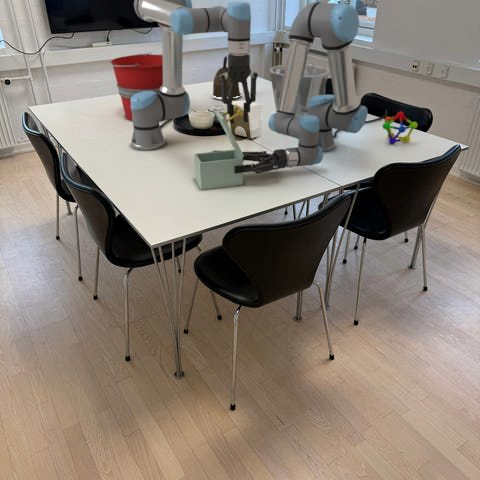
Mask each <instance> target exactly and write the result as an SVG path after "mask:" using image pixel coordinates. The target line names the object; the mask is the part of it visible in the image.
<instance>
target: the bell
mask: <svg viewBox="0 0 480 480" xmlns="http://www.w3.org/2000/svg"><path fill="white" fill-rule="evenodd" d="M227 65H228V56H224V58H223V63H222V67H221V68H219V69H218V70H217V71H216V73H215V75H214V78H213V81H212V83H213V84H212V95H214V96H216V97H222V87H221V78H220V74H224V73H226V72H227V69H228V66H227ZM230 82H231V79H230V77H229V76H227V80H226V83H227V97H228V93H229V89H230ZM240 95H241V96H242V93H241V92H240V83H237V84H236V87H235V91H234V96H233V97H236V96H240Z"/></svg>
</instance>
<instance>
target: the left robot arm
mask: <svg viewBox="0 0 480 480" xmlns="http://www.w3.org/2000/svg"><path fill="white" fill-rule="evenodd" d="M133 8H134V11H135V14H136V15H137V17H138V18H140V19H141V20H143V21H145V22H147V23H153V22H155V23H157V24H158V26H159V27H160V28H161V52H162V53H161V55H162V66H163V85H162V86H160V88H159V94H156V92H154V91H143V92H139V93H137V94H135V95H133V96H132V97H131V111H132V118H133V121H132V125H133V132H132V135H131V139H130V140H131V142H130V143H131V147H132V148H134V149H135V150H141V151H151V150H153V151H154V150H157V149H161V148H163V147H164V146H165V144H166V140H165V137H164V135H163V132H162V130H161V128H162V127H164V126H165V125H166V124H168V123H169V122H170V121H173V119H179V118H181V117H184V116H186V115H188V113H189V111H190V107H191V99H190V94H189V93H188V92H187V90H186V88H185V87H184V86H183V41H184V40H183V38H184V37H183V36H187V35H195V34H208V33H209V34H210V33H227V53H228V55H227V68H228V69H227V72H226V73H224V74H220V78H221V87H222V100H221V102H222V104H224V105H226V109H227V110H226V112H227V113H228V114H227V115H229V118H230V117H232V116H233V115H235V111H234V105H235V104H233V100H234V99H233V96H234V91H235V87H236V84H237V83H238V84H240V83H241V86H242V92H243V96H244V100H245V102H243V111H244V114H243V115H242V116H243V118H242V119H243V122H244V123H248V122H249V120H248V119H249V116H248V115H249V113H251V105H252V104H253V103H254V102H256V99H257V79H258V77H259V73H258V72H256V71H252V69H251V55H250V53H251V26H252V25H251V22H252V15H251V14H252V13H251V4H250V3H249V2H247V1H229V2H228V3H227V7H225V6H222V5H216V6H214V5H213V6H212V7H200V8H199V7H194V8H193V3H192V0H134V1H133ZM227 76H229V77H230V79H231V82H230V89H229V93H228V98H227V83H226V80H227ZM248 78H250V91H249V86H248V80H247V79H248ZM160 120H161V121H164V123H162V124H161V125H160V122H161V121H160ZM229 123H230V124H232V125H234V124H235V118H233V119H232V120H230V121H229Z"/></svg>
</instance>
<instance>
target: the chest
mask: <svg viewBox="0 0 480 480" xmlns="http://www.w3.org/2000/svg"><path fill="white" fill-rule="evenodd" d="M216 151H217V152H213V151H209V152H197V153H194V154H193V155H194V156H193V158H194V161H193V162H194V178H195V181H196V183H197V186H198V187H199V189H200V190H201V191H203V190H211V189H219V188H227V187H235V186H243V184H244V173H236V174H235V166H240V165H244V162H243V158H241V156H240V155H239V154H238V153H237V152H236V150H235V149H228V150H216Z"/></svg>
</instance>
